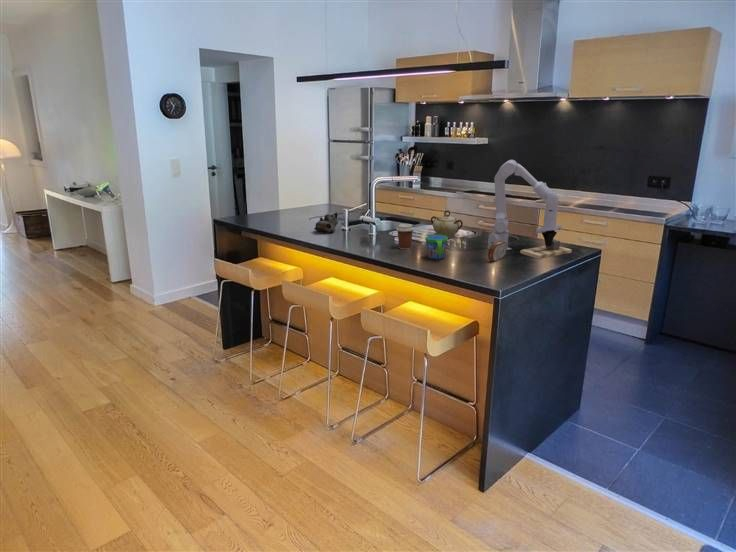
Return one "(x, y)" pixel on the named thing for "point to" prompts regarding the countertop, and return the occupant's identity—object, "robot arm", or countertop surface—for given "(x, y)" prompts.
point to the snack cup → (436, 246)
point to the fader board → (544, 252)
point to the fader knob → (554, 245)
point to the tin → (497, 251)
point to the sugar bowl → (446, 225)
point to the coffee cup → (405, 235)
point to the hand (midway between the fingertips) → (547, 245)
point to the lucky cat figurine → (327, 223)
